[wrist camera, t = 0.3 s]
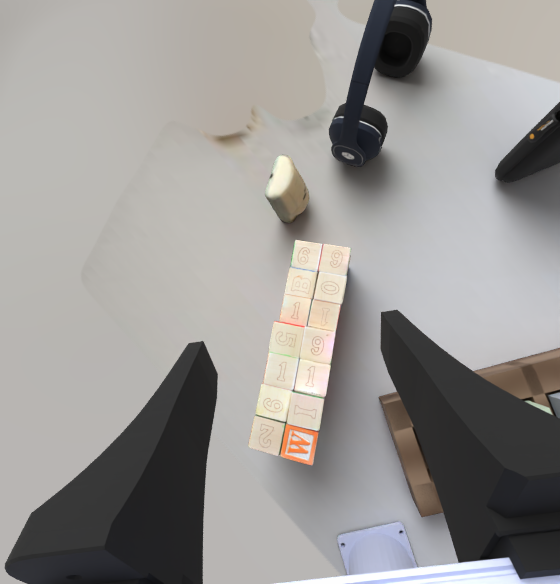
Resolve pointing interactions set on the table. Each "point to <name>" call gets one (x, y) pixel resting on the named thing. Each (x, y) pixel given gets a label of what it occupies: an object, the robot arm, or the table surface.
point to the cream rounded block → (286, 190)
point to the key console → (508, 376)
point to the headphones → (386, 59)
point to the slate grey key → (555, 403)
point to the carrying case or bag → (533, 150)
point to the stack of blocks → (301, 353)
